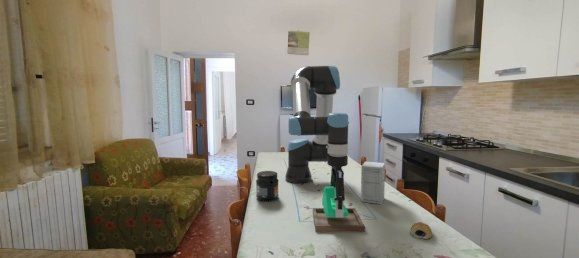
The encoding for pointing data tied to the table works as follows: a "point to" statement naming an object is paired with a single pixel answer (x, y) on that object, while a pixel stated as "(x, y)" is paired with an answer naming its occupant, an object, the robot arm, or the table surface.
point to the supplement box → (372, 182)
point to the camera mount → (331, 202)
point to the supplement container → (267, 186)
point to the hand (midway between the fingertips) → (336, 209)
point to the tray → (338, 221)
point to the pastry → (421, 231)
